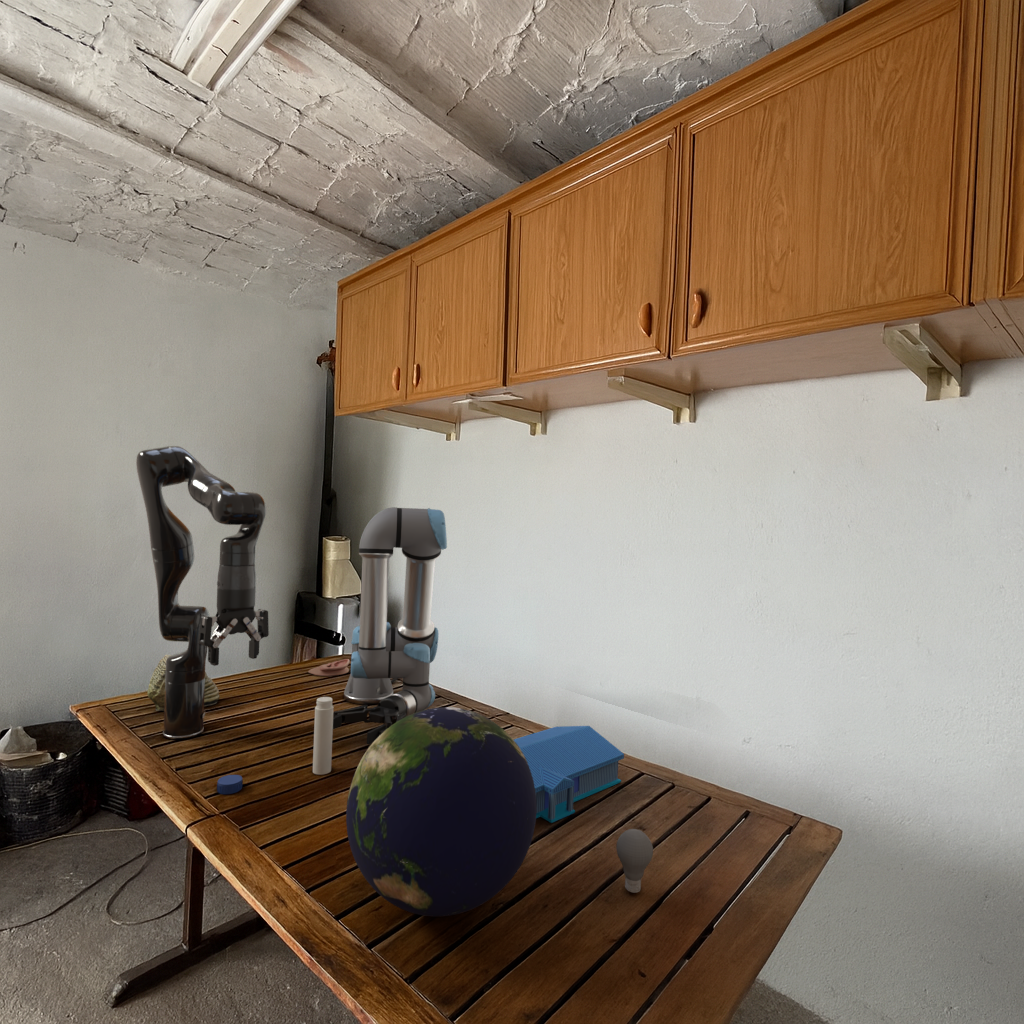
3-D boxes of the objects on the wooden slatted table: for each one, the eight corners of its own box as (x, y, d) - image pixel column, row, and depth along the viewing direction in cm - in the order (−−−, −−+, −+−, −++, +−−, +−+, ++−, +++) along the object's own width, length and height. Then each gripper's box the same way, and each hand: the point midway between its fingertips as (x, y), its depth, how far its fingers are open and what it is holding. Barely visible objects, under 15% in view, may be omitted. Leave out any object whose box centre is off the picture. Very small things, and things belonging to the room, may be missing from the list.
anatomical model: (304, 662, 222) (320, 655, 233) (303, 674, 222) (320, 665, 234) (339, 666, 220) (353, 658, 231) (338, 677, 220) (353, 669, 231)
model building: (505, 843, 118) (507, 790, 118) (429, 794, 136) (431, 748, 136) (632, 786, 145) (634, 743, 144) (555, 752, 163) (557, 713, 163)
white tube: (309, 773, 145) (312, 700, 144) (317, 766, 149) (320, 695, 148) (326, 775, 144) (329, 702, 144) (334, 768, 148) (336, 697, 148)
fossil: (144, 707, 182) (145, 655, 182) (212, 696, 194) (213, 647, 194) (151, 716, 175) (153, 662, 175) (221, 703, 188) (223, 653, 188)
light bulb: (610, 879, 108) (613, 822, 108) (644, 879, 109) (647, 822, 109) (619, 902, 102) (622, 840, 102) (655, 901, 103) (658, 840, 103)
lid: (244, 790, 135) (245, 781, 135) (219, 796, 132) (220, 786, 132) (239, 781, 139) (239, 772, 139) (214, 787, 136) (214, 777, 136)
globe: (300, 927, 93) (307, 725, 93) (407, 832, 121) (414, 676, 120) (484, 995, 82) (495, 765, 81) (556, 873, 110) (564, 701, 109)
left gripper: (212, 590, 127) (209, 671, 127) (277, 585, 138) (274, 659, 138) (194, 586, 131) (191, 663, 132) (258, 581, 143) (255, 652, 143)
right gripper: (434, 730, 168) (387, 758, 149) (358, 714, 179) (305, 738, 159) (435, 702, 168) (388, 727, 149) (359, 687, 178) (306, 708, 159)
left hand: (234, 661), depth 135 cm, fingers open, 8 cm apart
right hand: (345, 733), depth 154 cm, fingers open, 13 cm apart
